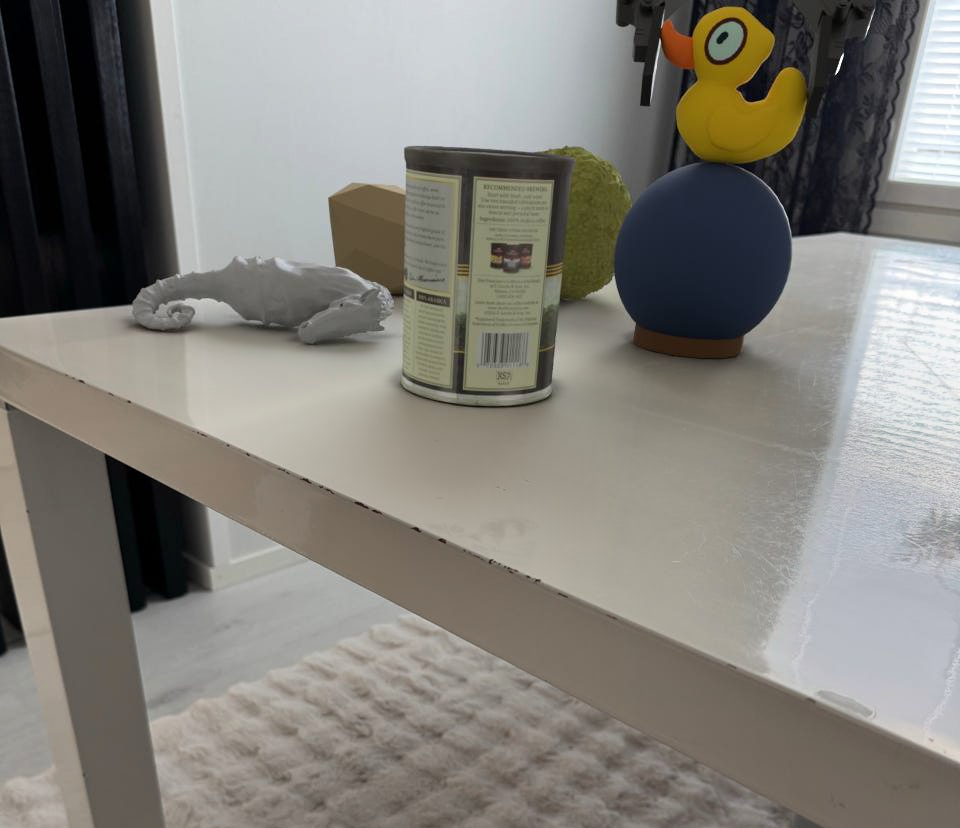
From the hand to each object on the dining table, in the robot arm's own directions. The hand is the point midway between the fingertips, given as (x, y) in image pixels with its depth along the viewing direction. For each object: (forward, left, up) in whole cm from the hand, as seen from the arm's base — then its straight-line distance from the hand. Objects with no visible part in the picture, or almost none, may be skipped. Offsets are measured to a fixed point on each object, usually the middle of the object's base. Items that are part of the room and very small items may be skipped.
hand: (729, 97), depth 69 cm
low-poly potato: (+28, -14, -18) cm, 36 cm away
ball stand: (0, -3, -18) cm, 18 cm away
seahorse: (+33, +8, -18) cm, 39 cm away
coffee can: (+14, +18, -18) cm, 29 cm away
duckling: (0, -3, -5) cm, 5 cm away
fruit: (+14, -22, -18) cm, 32 cm away
